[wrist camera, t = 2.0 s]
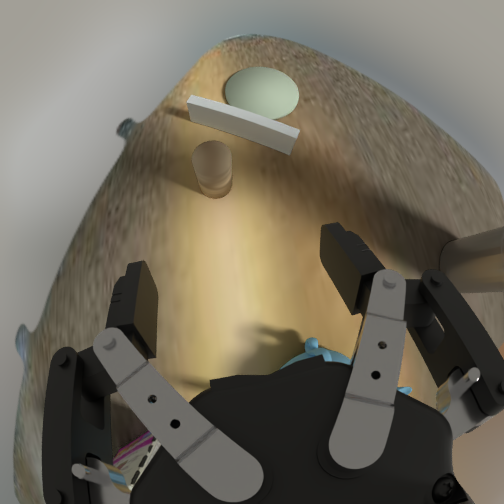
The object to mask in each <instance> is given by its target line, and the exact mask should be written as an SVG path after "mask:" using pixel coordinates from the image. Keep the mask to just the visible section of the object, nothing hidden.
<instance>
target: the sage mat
mask: <svg viewBox="0 0 504 504" xmlns="http://www.w3.org/2000/svg"><path fill="white" fill-rule="evenodd" d="M225 95H226V99H227V102H228V104H229V105H230V106H233V107H236V108H240V109H243V110H246V111H249V112H252V113H255V114H258V115H261V116H264V117H266V118H269V119H272V120H277V119H280V118H283V117H285V116H287V115H288V114H290V113H291V112H292V111H293V110H294V109H295V107H296V105H297V103H298V99H299V92H298V88H297V86H296V84H295V83H294V82H293V80H292V79H291V78H290V77H288V76H287V75H286V74H284V73H282V72H280V71H278V70H275V69H272V68H267V67H251V68H246V69H243V70H241V71H239V72H237V73H235V74H234V75H233V76H232V77H231V78H230V79H229V80H228V82H227V84H226V88H225Z"/></svg>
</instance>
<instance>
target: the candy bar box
mask: <svg viewBox="0 0 504 504" xmlns="http://www.w3.org/2000/svg"><path fill="white" fill-rule="evenodd" d="M160 446H161V444H160V442H159V441H158V440H157V439H156V438H155V437H154V436H153V435H152V433H151V432H150V431H147V432H146V433H144V434H143V435H141V436H140V437H138V438H137V439H135V440H134V441H132V442H131V443H129V444H128V445H126V446H124V447H123V448H121V449H120V450H119V451H118V452H117V454H116V455H115V457H114V458H113V466H115V467H117V468H118V469H119V470H120V471H121V472H122V474H123V476H124V478H125V482H126V484H127V486H128V488H129V489H130V490H132V488H133V486H134V484H135V483H136V481H137V480H138V479H139V477H140V476H141V474H142V473H143V471H144V470H145V468H146V467H147V465H148V464H149V462H150V461H151V459H152V458H153V456H154V455H155V453H156V452H157V450H158V449H159V447H160Z"/></svg>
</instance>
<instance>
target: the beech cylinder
mask: <svg viewBox="0 0 504 504" xmlns="http://www.w3.org/2000/svg"><path fill="white" fill-rule="evenodd" d="M192 164H193V167H194V170H195V173H196V177H197V180H198V183H199V186H200V189H201V191H202V193H203V194H204V195H205V196H207V197H209V198H213V199H218V198H222V197H224V196H225V195H227V194H228V193H229V191H230V190H231V187H232V154H231V151H230V149H229V148H228V146H226V145H225V144H224V143H222V142H219V141H207V142H204V143H202V144H200V145H199V146H198V147H197V148H196V149H195V150H194V152H193V155H192Z"/></svg>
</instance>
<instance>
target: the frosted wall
mask: <svg viewBox="0 0 504 504" xmlns="http://www.w3.org/2000/svg"><path fill="white" fill-rule="evenodd" d="M187 107H188V111H189V115H190V120H191V121H192V122H195V123H199V124H202V125H205V126H208V127H212V128H215V129H218V130H221V131H224V132H227V133H230V134H233V135H236V136H239V137H242V138H245V139H248V140H250V141H253V142H256V143H259V144H261V145H264V146H267V147H269V148H272V149H275V150H277V151H280V152H282V153H285V154H287V155H290V154H291V151H292V149H293V146H294V144H295V141H296V139H297V137H298V134H299V132H300V130H298V129H296V128H293V127H291V126H288V125H285V124H283V123H280V122H277V121H275V120H272V119H269V118H266V117H264V116H261V115H258V114H255V113H252V112H249V111H246V110H243V109H240V108H236V107H233V106H230V105H227V104H223V103H220V102H216V101H213V100H209V99H206V98H202V97H198V96H194V95H191V96H190V98H189V99H188V101H187Z"/></svg>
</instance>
